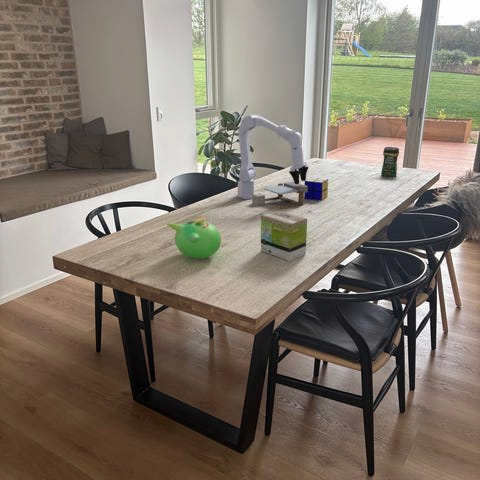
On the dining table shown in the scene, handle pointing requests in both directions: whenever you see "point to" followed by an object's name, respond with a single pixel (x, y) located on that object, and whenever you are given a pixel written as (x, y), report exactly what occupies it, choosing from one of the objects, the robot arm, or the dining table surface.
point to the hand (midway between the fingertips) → (300, 182)
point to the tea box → (283, 235)
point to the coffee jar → (390, 161)
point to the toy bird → (196, 238)
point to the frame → (300, 202)
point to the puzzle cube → (316, 189)
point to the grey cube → (258, 199)
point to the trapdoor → (288, 188)
